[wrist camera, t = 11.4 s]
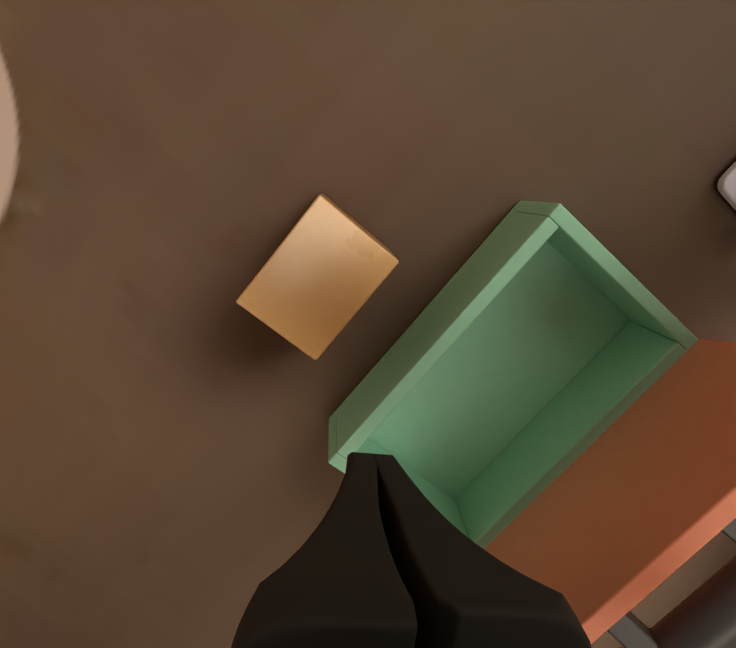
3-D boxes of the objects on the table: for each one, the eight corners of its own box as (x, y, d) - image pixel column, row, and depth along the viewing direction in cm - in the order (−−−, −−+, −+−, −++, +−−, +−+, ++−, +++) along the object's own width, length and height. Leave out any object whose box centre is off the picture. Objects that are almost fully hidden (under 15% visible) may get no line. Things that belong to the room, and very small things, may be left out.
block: (321, 192, 20) (319, 194, 16) (387, 247, 20) (399, 261, 17) (253, 280, 20) (234, 302, 17) (318, 329, 21) (315, 361, 17)
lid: (459, 732, 12) (574, 855, 12) (882, 356, 10) (1055, 483, 9) (470, 562, 21) (536, 627, 20) (699, 338, 18) (783, 403, 18)
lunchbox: (328, 418, 23) (327, 462, 19) (519, 199, 20) (560, 202, 17) (451, 505, 24) (472, 561, 21) (639, 314, 22) (699, 339, 19)
